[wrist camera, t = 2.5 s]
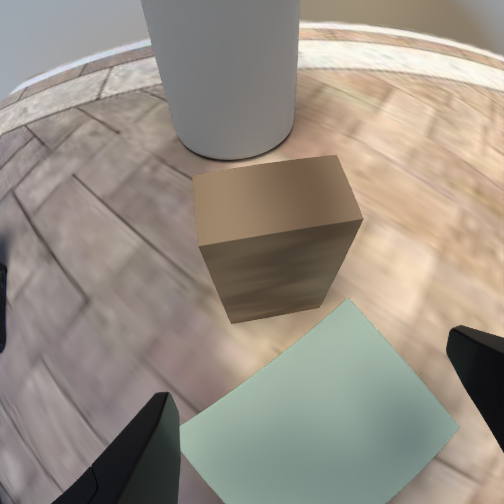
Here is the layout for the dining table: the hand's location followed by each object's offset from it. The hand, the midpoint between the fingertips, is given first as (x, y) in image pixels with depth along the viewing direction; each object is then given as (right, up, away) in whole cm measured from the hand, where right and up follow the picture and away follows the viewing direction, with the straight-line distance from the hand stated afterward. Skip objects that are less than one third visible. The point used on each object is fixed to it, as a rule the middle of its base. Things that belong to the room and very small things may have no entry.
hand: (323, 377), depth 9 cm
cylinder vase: (-4, +17, +24) cm, 30 cm away
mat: (+3, -9, +10) cm, 14 cm away
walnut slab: (-1, +1, +15) cm, 15 cm away
